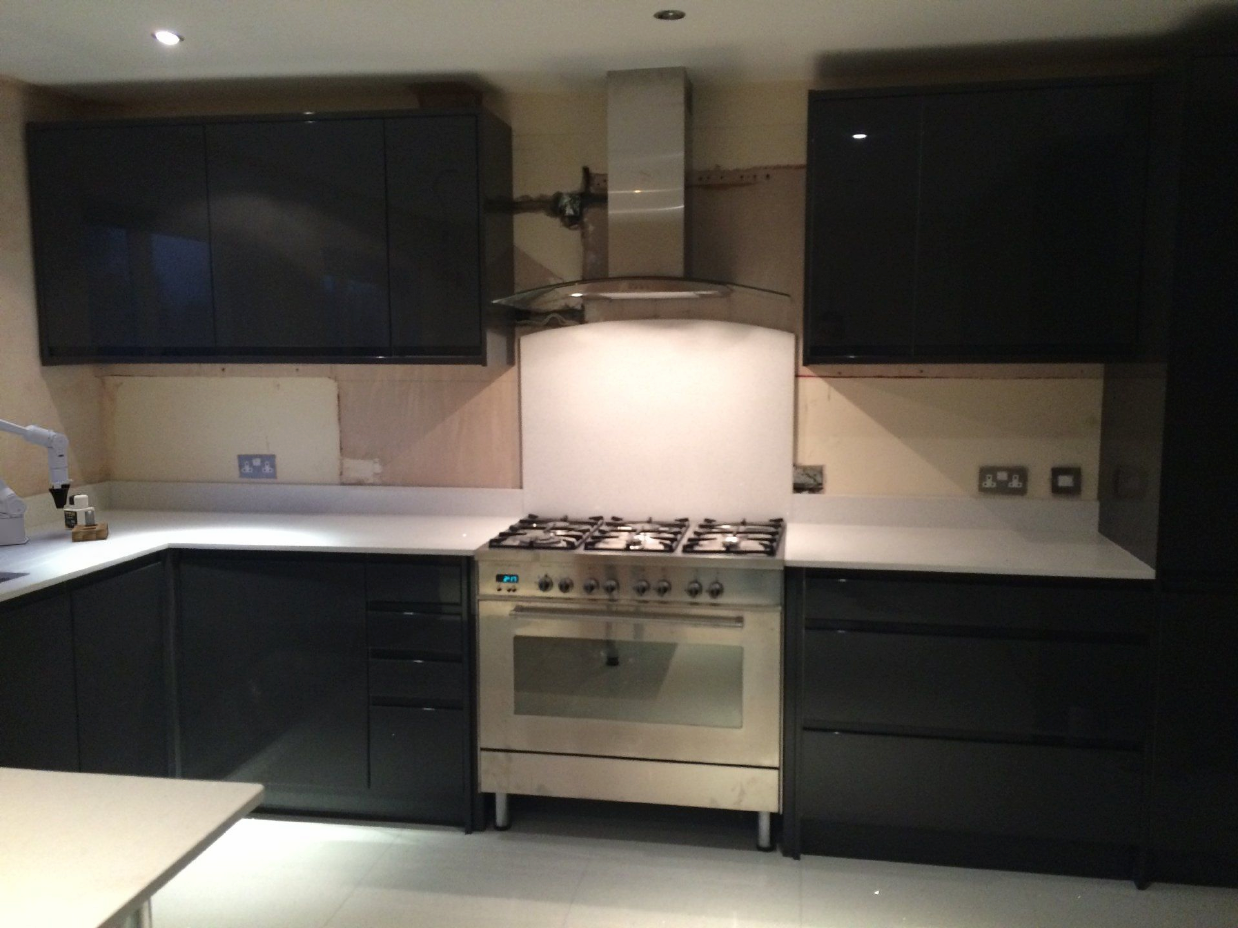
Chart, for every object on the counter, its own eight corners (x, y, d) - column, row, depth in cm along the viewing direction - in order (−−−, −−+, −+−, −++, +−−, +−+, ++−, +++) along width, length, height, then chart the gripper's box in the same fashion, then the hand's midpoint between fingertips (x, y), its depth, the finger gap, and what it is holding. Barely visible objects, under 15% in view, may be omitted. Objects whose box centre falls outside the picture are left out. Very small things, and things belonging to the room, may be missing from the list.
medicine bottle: (65, 528, 360) (62, 495, 358) (83, 525, 366) (81, 492, 364) (77, 530, 356) (75, 496, 355) (96, 526, 363) (93, 494, 361)
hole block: (72, 542, 334) (71, 531, 333) (76, 535, 347) (75, 525, 346) (105, 539, 338) (105, 529, 337) (108, 532, 350) (107, 522, 350)
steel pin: (86, 535, 343) (84, 512, 342) (86, 533, 346) (84, 510, 345) (96, 534, 345) (94, 511, 344) (95, 532, 347) (93, 510, 346)
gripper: (69, 469, 339) (72, 508, 341) (73, 464, 352) (76, 503, 354) (45, 470, 336) (48, 510, 338) (50, 466, 349) (53, 504, 351)
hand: (61, 506), depth 346 cm, fingers open, 7 cm apart
